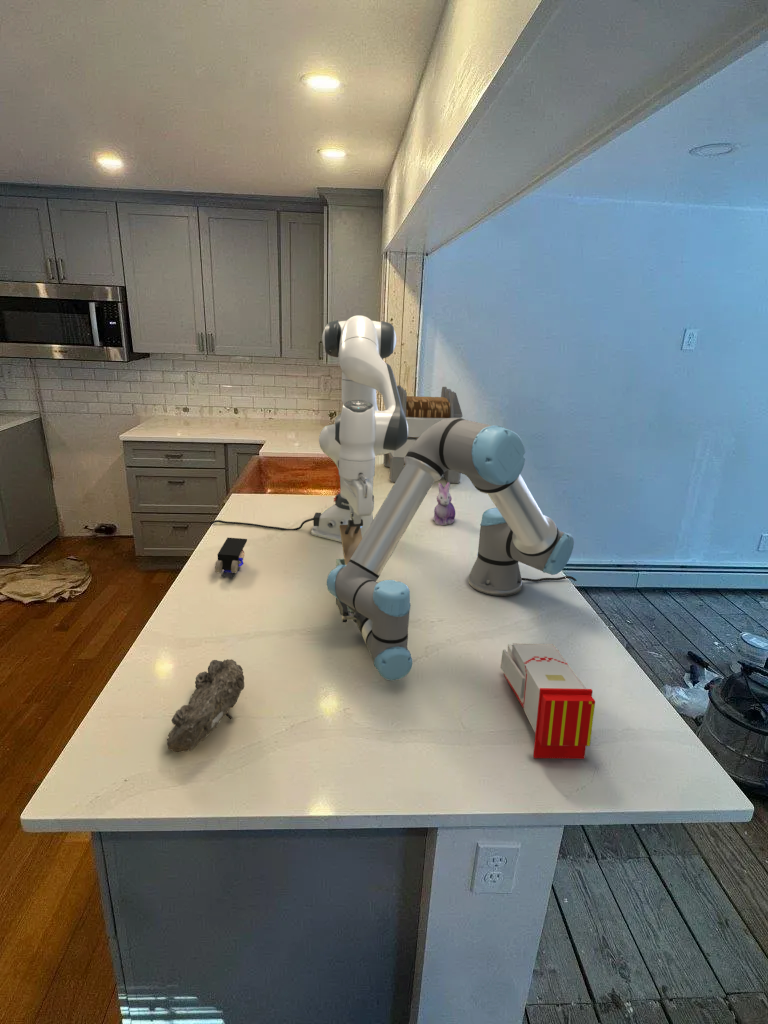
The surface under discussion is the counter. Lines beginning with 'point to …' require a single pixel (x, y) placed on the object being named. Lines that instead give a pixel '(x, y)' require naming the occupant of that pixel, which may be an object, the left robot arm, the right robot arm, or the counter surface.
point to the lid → (350, 538)
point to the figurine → (444, 506)
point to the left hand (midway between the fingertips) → (355, 521)
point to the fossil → (206, 705)
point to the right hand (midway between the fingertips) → (354, 582)
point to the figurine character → (230, 556)
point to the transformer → (422, 425)
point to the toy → (550, 699)
